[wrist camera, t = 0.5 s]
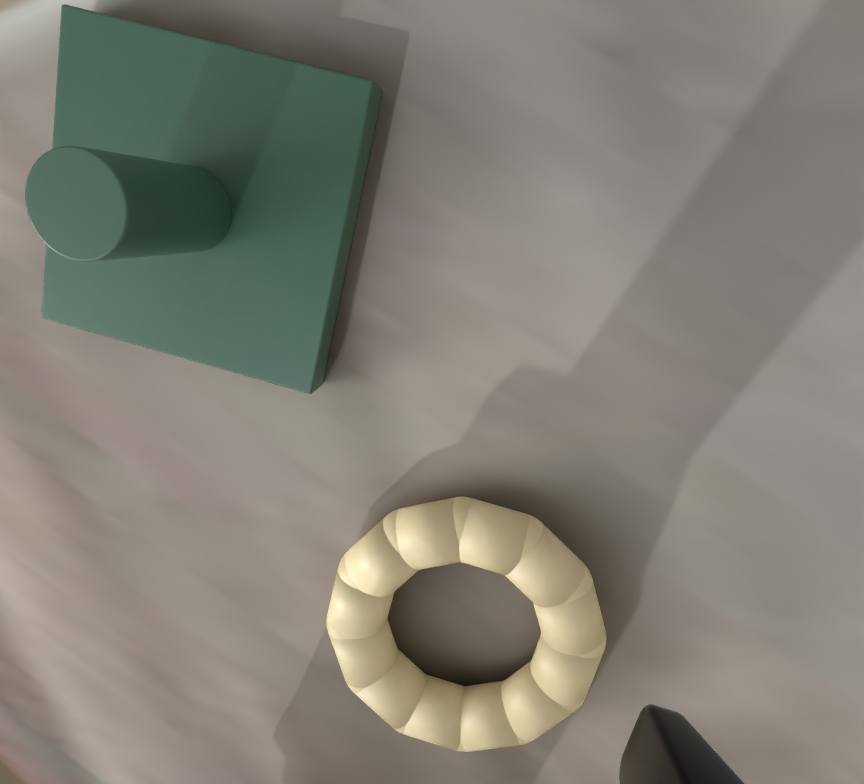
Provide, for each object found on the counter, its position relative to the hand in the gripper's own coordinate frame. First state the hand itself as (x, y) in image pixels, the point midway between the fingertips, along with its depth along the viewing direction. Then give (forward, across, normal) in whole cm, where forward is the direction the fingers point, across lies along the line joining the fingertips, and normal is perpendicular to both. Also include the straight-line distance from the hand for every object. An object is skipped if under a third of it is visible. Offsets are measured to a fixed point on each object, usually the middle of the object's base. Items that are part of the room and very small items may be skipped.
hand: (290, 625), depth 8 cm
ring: (+12, -3, +7) cm, 14 cm away
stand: (+12, +8, -4) cm, 15 cm away
